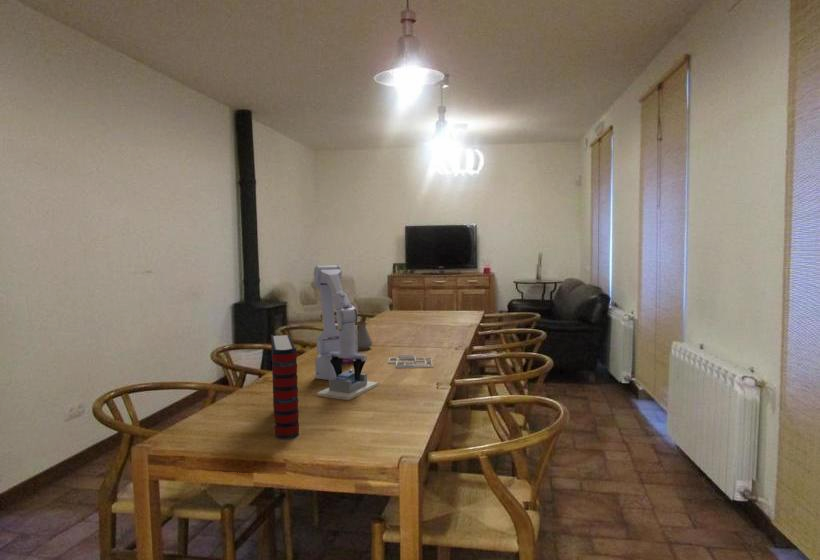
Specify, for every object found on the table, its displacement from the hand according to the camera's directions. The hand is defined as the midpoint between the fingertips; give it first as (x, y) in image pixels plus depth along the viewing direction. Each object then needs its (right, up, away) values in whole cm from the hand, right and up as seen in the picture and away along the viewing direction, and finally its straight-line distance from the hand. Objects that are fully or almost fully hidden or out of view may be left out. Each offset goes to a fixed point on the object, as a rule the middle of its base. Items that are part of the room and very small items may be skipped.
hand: (348, 378), depth 190 cm
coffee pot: (-2, +1, +67) cm, 67 cm away
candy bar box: (-7, -1, +45) cm, 45 cm away
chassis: (0, -4, 0) cm, 4 cm away
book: (-15, -7, -33) cm, 37 cm away
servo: (0, -3, 0) cm, 3 cm away
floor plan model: (+19, -1, +41) cm, 45 cm away
